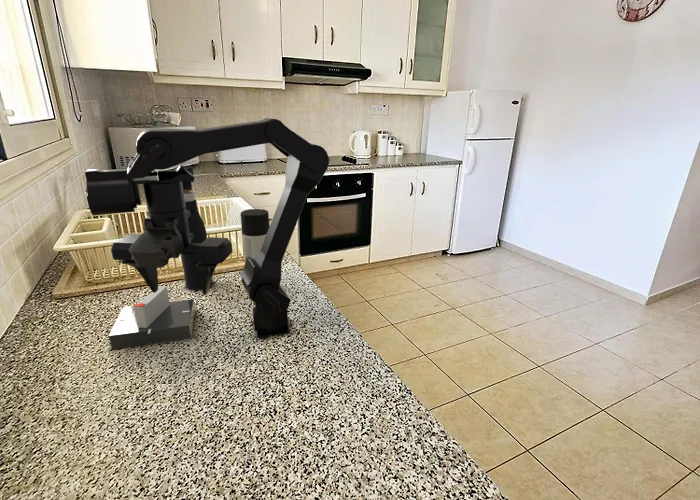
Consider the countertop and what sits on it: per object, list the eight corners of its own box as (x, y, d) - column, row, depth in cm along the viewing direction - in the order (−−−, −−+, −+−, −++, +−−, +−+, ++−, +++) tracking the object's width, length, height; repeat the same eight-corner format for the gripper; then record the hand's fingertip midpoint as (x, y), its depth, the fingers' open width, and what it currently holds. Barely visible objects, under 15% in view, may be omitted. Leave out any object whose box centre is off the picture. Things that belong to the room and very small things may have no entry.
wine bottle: (217, 283, 97) (204, 167, 86) (196, 292, 92) (179, 170, 81) (202, 277, 100) (186, 164, 90) (180, 286, 95) (162, 167, 85)
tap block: (195, 308, 85) (194, 296, 84) (190, 341, 74) (188, 327, 72) (127, 316, 81) (124, 304, 80) (110, 352, 70) (106, 338, 69)
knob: (162, 304, 81) (158, 284, 79) (170, 304, 81) (166, 285, 79) (137, 327, 72) (133, 306, 71) (146, 328, 72) (142, 306, 70)
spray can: (270, 293, 93) (265, 215, 86) (243, 292, 93) (236, 215, 86) (276, 281, 99) (271, 208, 92) (250, 280, 99) (244, 207, 92)
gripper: (76, 220, 54) (99, 313, 60) (201, 225, 54) (213, 319, 59) (123, 202, 65) (139, 282, 70) (229, 206, 64) (237, 287, 70)
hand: (180, 292), depth 67 cm, fingers open, 9 cm apart
